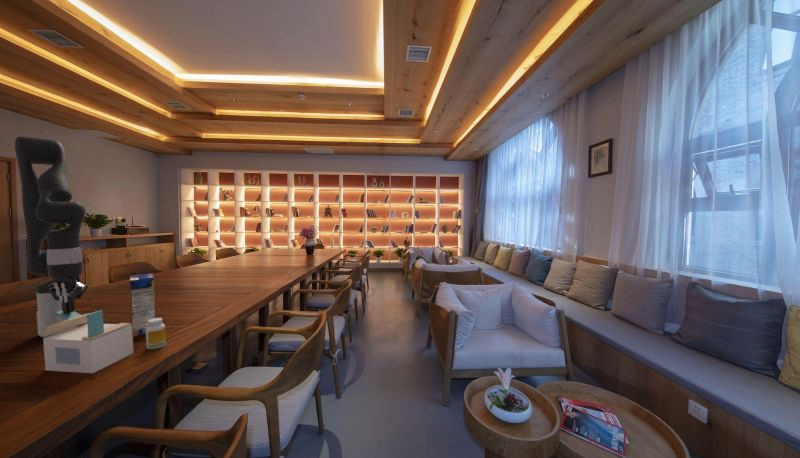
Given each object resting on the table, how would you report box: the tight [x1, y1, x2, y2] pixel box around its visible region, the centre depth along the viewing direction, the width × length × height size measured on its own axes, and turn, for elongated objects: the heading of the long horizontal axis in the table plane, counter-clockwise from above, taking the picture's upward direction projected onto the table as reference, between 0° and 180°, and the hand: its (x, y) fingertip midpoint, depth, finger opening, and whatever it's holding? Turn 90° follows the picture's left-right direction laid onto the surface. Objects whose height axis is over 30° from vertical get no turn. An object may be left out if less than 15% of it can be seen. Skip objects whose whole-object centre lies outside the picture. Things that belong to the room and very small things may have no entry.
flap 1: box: [42, 310, 90, 338], centre depth 92 cm, size 4×11×8 cm
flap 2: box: [82, 310, 132, 340], centre depth 91 cm, size 4×11×8 cm, turn 175°
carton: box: [42, 323, 135, 374], centre depth 92 cm, size 16×12×10 cm
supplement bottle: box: [145, 317, 167, 350], centre depth 102 cm, size 5×5×10 cm
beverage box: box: [129, 273, 157, 337], centre depth 116 cm, size 7×11×22 cm, turn 43°
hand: (68, 312), depth 96 cm, fingers closed
